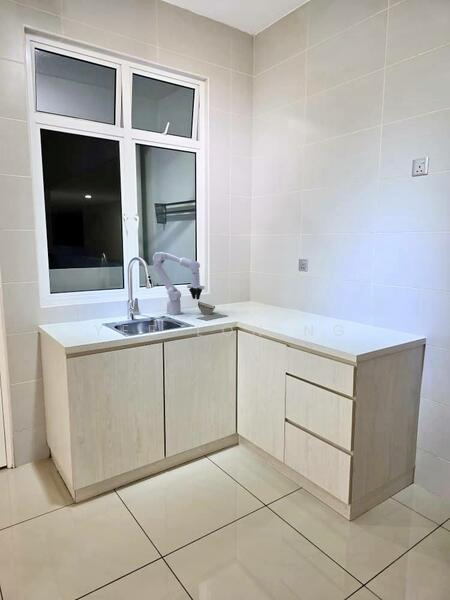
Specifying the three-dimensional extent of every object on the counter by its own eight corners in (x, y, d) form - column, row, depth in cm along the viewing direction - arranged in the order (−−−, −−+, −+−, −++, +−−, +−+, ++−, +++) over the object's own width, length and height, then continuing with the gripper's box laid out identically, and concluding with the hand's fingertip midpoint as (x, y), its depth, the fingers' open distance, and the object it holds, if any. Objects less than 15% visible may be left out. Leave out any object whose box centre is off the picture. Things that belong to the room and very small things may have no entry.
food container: (212, 318, 265) (212, 313, 275) (215, 310, 264) (215, 305, 273) (195, 313, 264) (195, 308, 273) (198, 305, 262) (198, 300, 271)
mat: (196, 318, 253) (196, 318, 253) (217, 314, 267) (217, 313, 267) (206, 320, 246) (206, 320, 246) (228, 316, 260) (228, 315, 260)
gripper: (183, 279, 265) (184, 299, 268) (198, 280, 256) (199, 300, 258) (190, 278, 271) (191, 297, 273) (206, 279, 262) (206, 299, 264)
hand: (196, 299), depth 266 cm, fingers open, 3 cm apart
